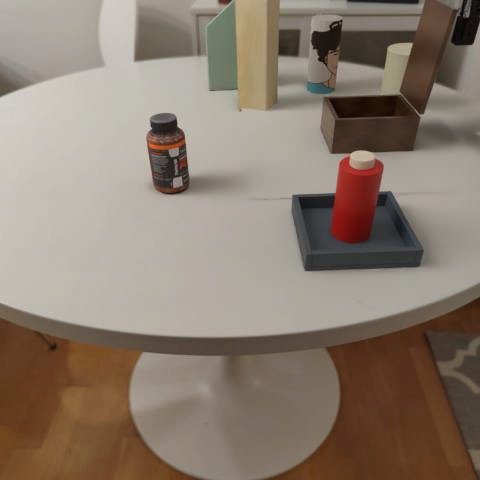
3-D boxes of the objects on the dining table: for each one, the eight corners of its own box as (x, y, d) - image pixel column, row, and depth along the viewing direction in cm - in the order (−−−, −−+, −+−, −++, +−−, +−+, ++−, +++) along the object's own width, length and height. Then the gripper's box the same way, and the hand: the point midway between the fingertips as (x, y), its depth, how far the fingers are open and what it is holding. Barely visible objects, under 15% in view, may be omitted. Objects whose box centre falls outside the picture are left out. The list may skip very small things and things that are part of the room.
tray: (387, 206, 69) (391, 190, 67) (419, 266, 58) (424, 250, 56) (291, 209, 69) (292, 194, 67) (304, 270, 58) (306, 254, 56)
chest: (330, 157, 81) (334, 120, 77) (320, 131, 90) (323, 96, 86) (411, 155, 82) (420, 117, 77) (393, 129, 90) (400, 94, 86)
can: (395, 117, 95) (408, 54, 87) (368, 103, 101) (378, 43, 93) (430, 109, 98) (445, 48, 90) (402, 96, 104) (414, 38, 96)
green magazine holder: (270, 76, 117) (272, -15, 104) (275, 86, 111) (278, -9, 98) (207, 80, 116) (201, -12, 103) (209, 90, 110) (202, -6, 97)
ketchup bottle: (365, 220, 65) (379, 145, 58) (374, 242, 61) (391, 164, 53) (327, 221, 65) (336, 146, 58) (334, 244, 61) (345, 166, 53)
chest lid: (453, 9, 67) (458, 9, 67) (426, -5, 75) (431, -5, 76) (419, 114, 77) (423, 114, 77) (399, 91, 86) (403, 91, 86)
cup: (328, 95, 106) (335, 22, 96) (302, 91, 108) (306, 19, 99) (339, 86, 110) (347, 16, 100) (313, 82, 113) (319, 13, 103)
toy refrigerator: (247, 98, 105) (246, -9, 92) (277, 101, 103) (281, -7, 90) (234, 110, 100) (231, -2, 86) (266, 114, 98) (268, 0, 84)
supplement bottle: (190, 193, 73) (182, 123, 66) (152, 195, 73) (141, 126, 65) (190, 176, 77) (183, 109, 70) (155, 178, 77) (144, 110, 70)
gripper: (558, -102, 58) (505, 56, 70) (503, -104, 69) (465, 32, 81) (499, -101, 57) (456, 57, 70) (454, -103, 69) (423, 33, 81)
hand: (461, 43), depth 75 cm, fingers closed
